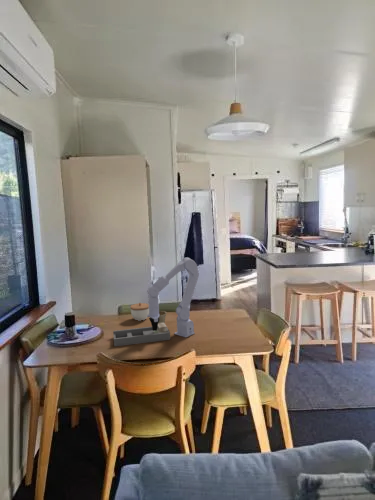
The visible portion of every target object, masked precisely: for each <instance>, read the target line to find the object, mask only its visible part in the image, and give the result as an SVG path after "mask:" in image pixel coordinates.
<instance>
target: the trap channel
mask: <svg viewBox="0 0 375 500" xmlns="http://www.w3.org/2000/svg"><path fill="white" fill-rule="evenodd" d="M168 328H169V327H167V332H165V333H156V334H154V331H153V329H152V326H145V327H137V328H136V327H135V328H128V329H127V328H126V329H119V330H118V329H117V330H112V336H113V345H114V347H119V346H120V347H121V346H128V345H129V346H130V345H137V344H139V345H140V344H145V343H153V342H161V341H163V342H164V341H170V340H171V332H170V329H168Z"/></svg>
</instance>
